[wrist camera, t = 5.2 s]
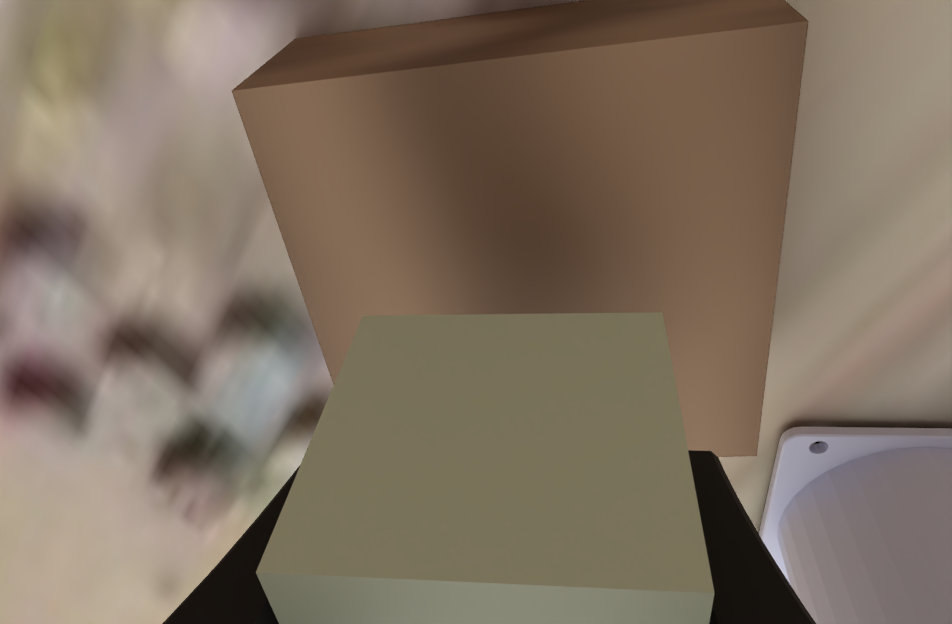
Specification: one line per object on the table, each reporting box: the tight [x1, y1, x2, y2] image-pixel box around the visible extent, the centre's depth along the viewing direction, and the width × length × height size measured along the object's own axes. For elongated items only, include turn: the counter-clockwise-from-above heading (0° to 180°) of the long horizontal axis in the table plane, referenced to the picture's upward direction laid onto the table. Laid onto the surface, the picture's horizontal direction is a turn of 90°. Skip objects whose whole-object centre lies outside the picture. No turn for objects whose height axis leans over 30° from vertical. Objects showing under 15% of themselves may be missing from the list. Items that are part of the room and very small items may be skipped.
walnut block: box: [232, 0, 808, 457], centre depth 16 cm, size 10×10×4 cm
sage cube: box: [256, 312, 715, 624], centre depth 10 cm, size 4×4×4 cm
